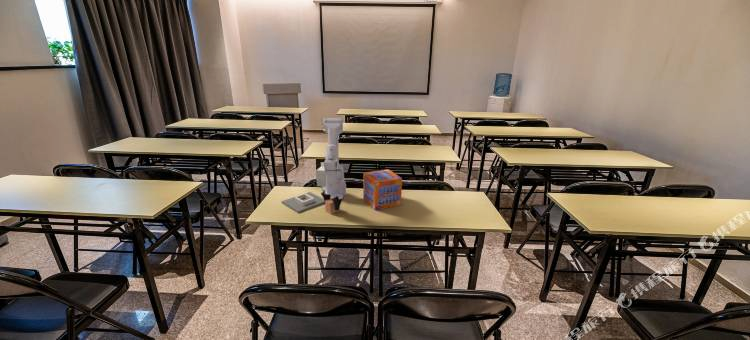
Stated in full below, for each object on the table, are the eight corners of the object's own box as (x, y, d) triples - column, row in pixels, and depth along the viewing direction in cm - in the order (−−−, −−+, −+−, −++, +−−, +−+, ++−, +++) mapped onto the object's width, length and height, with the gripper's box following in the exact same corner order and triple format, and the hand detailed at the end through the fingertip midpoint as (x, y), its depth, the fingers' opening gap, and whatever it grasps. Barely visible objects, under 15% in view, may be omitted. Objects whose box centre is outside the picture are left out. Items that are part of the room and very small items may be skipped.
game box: (401, 205, 164) (402, 178, 159) (375, 210, 157) (375, 182, 152) (387, 194, 177) (388, 168, 172) (363, 198, 171) (363, 172, 165)
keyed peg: (334, 207, 160) (334, 197, 158) (339, 210, 157) (339, 199, 155) (325, 211, 155) (325, 200, 153) (330, 214, 153) (330, 203, 151)
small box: (325, 187, 185) (324, 170, 182) (316, 186, 186) (316, 170, 183) (330, 182, 193) (329, 166, 189) (321, 181, 194) (320, 165, 190)
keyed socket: (310, 193, 176) (309, 188, 175) (327, 202, 165) (326, 197, 164) (281, 202, 164) (281, 197, 163) (298, 213, 153) (297, 207, 152)
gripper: (316, 180, 153) (317, 205, 158) (334, 189, 143) (335, 214, 148) (327, 177, 158) (328, 201, 162) (346, 185, 148) (346, 210, 153)
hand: (332, 207), depth 156 cm, fingers open, 7 cm apart
